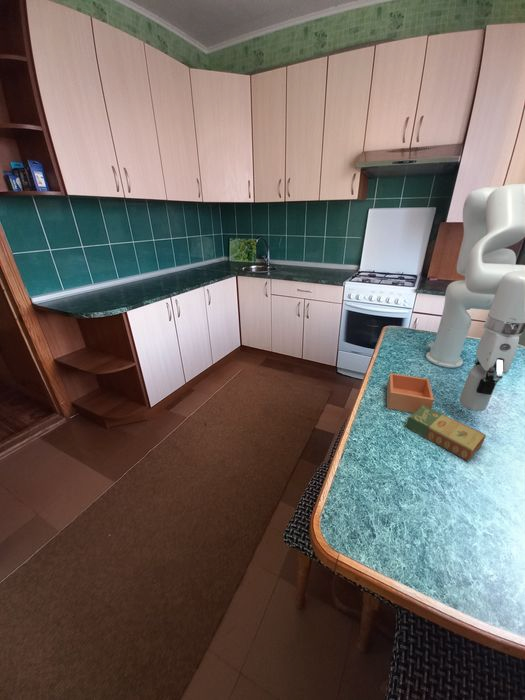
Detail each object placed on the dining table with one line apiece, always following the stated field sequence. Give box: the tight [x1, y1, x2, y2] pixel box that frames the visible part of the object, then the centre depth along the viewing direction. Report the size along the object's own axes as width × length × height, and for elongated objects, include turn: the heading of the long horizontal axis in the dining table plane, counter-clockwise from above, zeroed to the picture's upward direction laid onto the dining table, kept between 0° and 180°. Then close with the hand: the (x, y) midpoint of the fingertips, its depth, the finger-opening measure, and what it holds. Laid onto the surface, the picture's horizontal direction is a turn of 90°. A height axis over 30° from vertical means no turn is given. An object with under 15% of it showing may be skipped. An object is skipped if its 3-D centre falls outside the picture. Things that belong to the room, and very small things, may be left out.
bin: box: [386, 372, 435, 414], centre depth 91 cm, size 12×12×6 cm
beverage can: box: [458, 364, 498, 412], centre depth 79 cm, size 6×6×12 cm
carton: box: [406, 405, 486, 462], centre depth 77 cm, size 8×16×4 cm, turn 38°
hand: (479, 385), depth 78 cm, fingers closed on beverage can, 6 cm apart
